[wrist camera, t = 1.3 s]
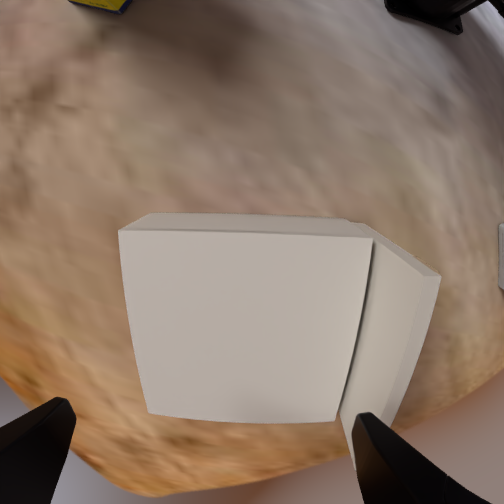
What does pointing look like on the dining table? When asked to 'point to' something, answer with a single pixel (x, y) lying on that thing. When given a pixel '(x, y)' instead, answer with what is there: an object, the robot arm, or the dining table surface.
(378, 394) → the flap
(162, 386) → the carton
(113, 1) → the supplement box
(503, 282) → the skincare box
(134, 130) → the dining table surface
